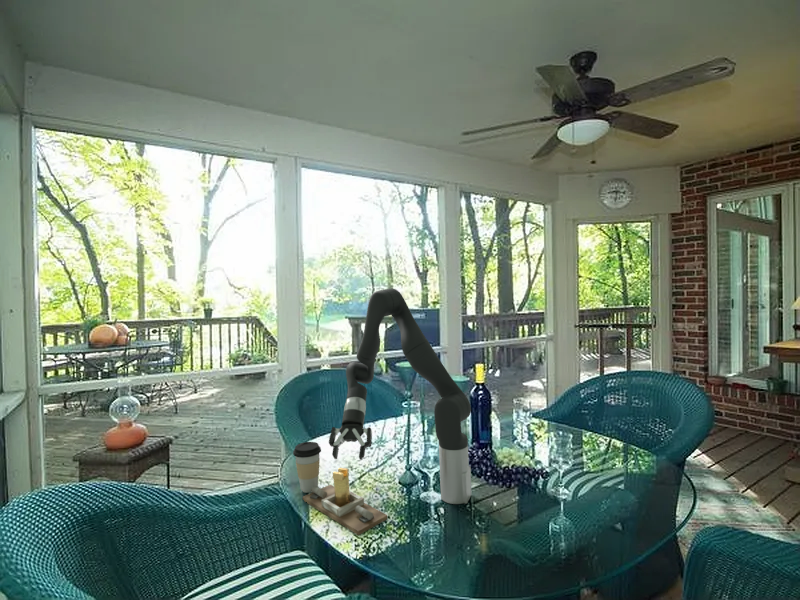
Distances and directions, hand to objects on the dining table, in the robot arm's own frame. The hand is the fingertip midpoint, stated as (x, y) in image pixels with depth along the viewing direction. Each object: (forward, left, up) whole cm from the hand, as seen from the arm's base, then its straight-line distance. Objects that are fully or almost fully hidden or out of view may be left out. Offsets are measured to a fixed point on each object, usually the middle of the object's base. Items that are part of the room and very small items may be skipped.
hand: (347, 458), depth 148 cm
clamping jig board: (-2, +8, -13) cm, 15 cm away
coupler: (-2, +8, -11) cm, 14 cm away
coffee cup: (+16, 0, -13) cm, 20 cm away
